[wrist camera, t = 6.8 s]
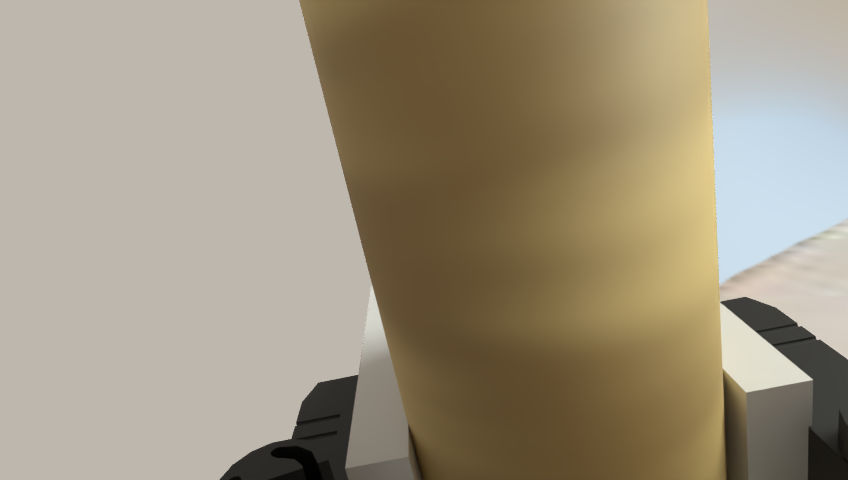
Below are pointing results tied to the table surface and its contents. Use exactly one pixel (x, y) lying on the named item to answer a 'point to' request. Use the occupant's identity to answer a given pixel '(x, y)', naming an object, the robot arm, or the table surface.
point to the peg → (537, 228)
